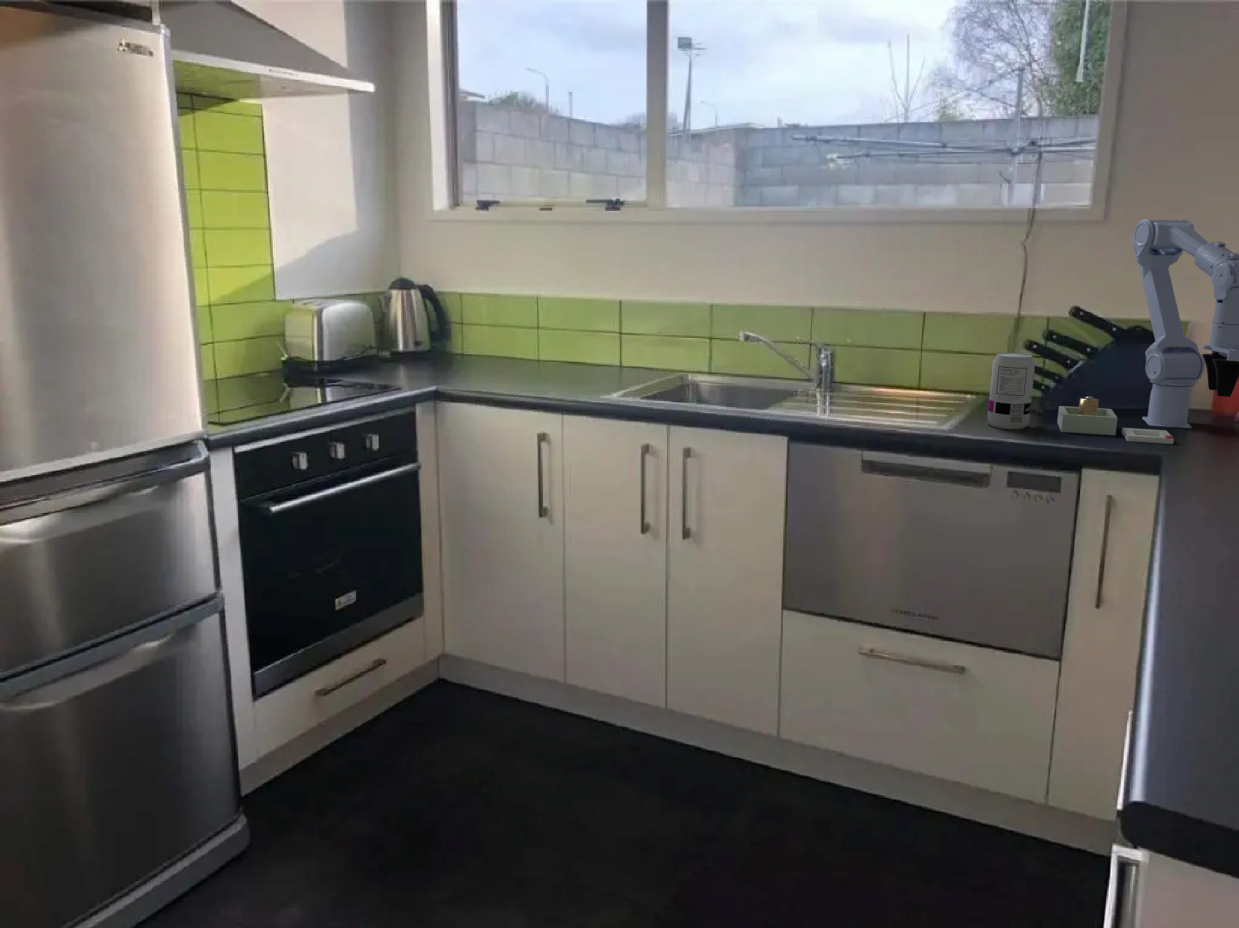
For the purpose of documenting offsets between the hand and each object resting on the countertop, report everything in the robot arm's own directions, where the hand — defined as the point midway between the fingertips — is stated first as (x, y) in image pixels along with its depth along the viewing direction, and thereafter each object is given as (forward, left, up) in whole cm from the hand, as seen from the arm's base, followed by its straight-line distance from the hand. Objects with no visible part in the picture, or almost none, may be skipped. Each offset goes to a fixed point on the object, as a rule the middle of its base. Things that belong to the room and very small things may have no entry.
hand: (1219, 393), depth 197 cm
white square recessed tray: (+5, -13, -9) cm, 16 cm away
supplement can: (-1, -38, -10) cm, 39 cm away
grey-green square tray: (-1, -23, -9) cm, 25 cm away
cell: (-1, -23, -9) cm, 25 cm away
